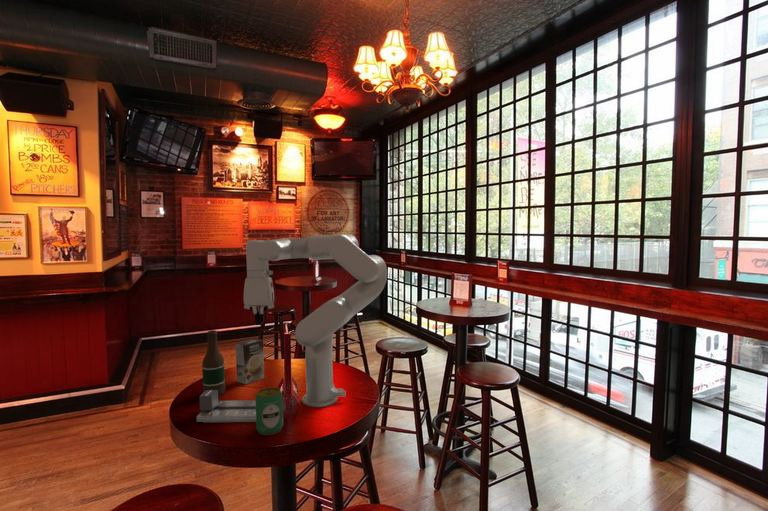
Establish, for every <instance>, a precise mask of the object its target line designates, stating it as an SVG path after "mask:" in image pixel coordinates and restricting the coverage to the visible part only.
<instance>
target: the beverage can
mask: <svg viewBox="0 0 768 511" xmlns="http://www.w3.org/2000/svg"><path fill="white" fill-rule="evenodd" d="M254 400H255V401H256V422H255V424H256V425H255V427H256V430H257V433H258V434H259V435H260V436H261V435H263V436H272V435H275V434H278V433H279V432H281V431H282V429H283V427H284V402H283V393H282V391H281V389H280V388H279V387H275V386H270V387H264V388H261V389H259V390H258V391H257V392H256V395H255V398H254Z"/></svg>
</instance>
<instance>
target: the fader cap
mask: <svg viewBox="0 0 768 511" xmlns="http://www.w3.org/2000/svg"><path fill="white" fill-rule="evenodd" d="M218 401H219V396H218V390H206V391H205V392H204V393H203V392H202V393H201V394H200V395H199V411H203V410H213V409H214V408H215V407H216V406H217V405H218Z"/></svg>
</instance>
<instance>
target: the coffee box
mask: <svg viewBox="0 0 768 511" xmlns="http://www.w3.org/2000/svg"><path fill="white" fill-rule="evenodd" d="M264 354H265V353H264V340H263V339H260V338H251V339H246V340H242V341H237V342H235V366H236V367H235V368H236V369H235V370H236V382H237V383H240V384H243V385H247V384H248V385H249V384H251V383H254V382H257V381H260V380H262V379H265V363H264V361H265V359H264V357H265V356H264Z"/></svg>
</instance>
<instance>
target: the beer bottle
mask: <svg viewBox="0 0 768 511" xmlns="http://www.w3.org/2000/svg"><path fill="white" fill-rule="evenodd" d="M206 336H207V341H206V342H207V344H206V346H207V347H206V354H205V356H204V357H203V360H202V364H201V369H202V371H201V372H202V373H201V374H202V394H203V393H204V392H205V391H206V390H218V397H221V396H223V395H224V393H225V392H226V377H225V376H226V373H225V372H226V371H225V358H224V356H223V354H222V353H221V352H220V351H219V350H220V349H219V346H218V344H219V343H218V331H217V330H214V329H213V330H208V331H207V332H206Z"/></svg>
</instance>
